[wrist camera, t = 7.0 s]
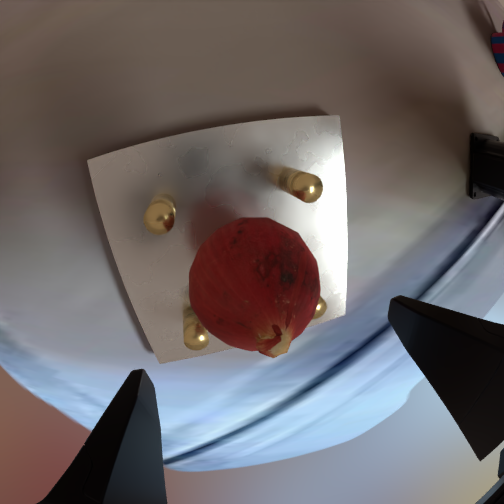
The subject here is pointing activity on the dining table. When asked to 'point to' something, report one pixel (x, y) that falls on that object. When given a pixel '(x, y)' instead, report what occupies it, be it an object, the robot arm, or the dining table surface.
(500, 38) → the mug
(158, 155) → the plate
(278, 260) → the red rounded piece
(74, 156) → the dining table surface
